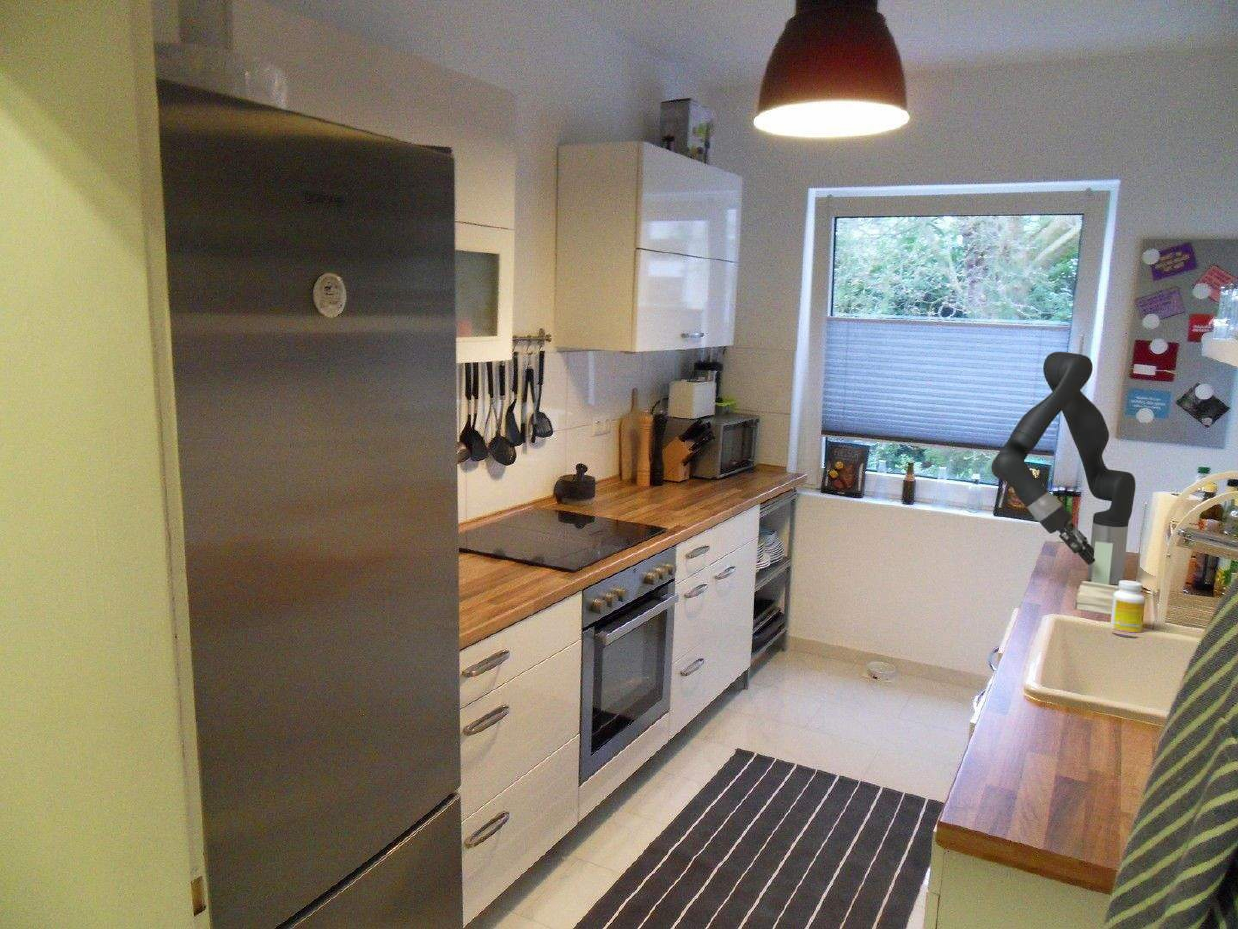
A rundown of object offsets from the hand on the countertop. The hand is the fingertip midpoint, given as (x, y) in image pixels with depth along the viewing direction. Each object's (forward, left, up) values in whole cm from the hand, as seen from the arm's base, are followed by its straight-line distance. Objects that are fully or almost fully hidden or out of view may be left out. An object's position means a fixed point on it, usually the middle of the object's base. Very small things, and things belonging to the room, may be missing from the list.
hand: (1093, 559), depth 230 cm
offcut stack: (+7, +2, -11) cm, 14 cm away
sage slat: (0, +2, -11) cm, 11 cm away
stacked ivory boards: (+3, +2, -13) cm, 13 cm away
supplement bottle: (+22, +9, -13) cm, 27 cm away
